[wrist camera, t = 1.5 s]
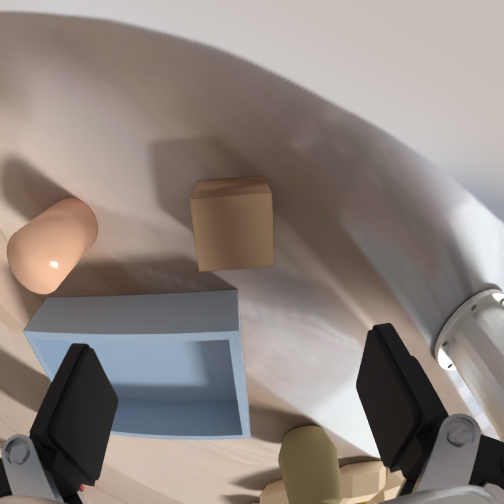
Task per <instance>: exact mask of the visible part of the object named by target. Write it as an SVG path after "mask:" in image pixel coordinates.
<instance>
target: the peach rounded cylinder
mask: <svg viewBox="0 0 504 504" xmlns="http://www.w3.org/2000/svg"><path fill="white" fill-rule="evenodd" d="M97 235H98V224H97V220H96V217H95V215H94V213H93V211H92V210H91V209H90V208H89V206H88V205H87V204H85V203H84V202H82V201H81V200H78V199H75V198H65V199H62V200H60V201H59V202H57V203H56V204H54V205H53V206H51V207H50V208H49V209H47V210H46V211H44V212H43V213H41V214H40V215H39V216H37V217H36V218H34V219H33V220H32V221H30V222H29V223H27V224H26V225H25V226H23V227H22V228H21V229H19V230H18V231H17V232H15V233H14V234H13V235H12V236H11V238H10V240H9V242H8V245H7V258H8V262H9V266H10V268H11V270H12V272H13V274H14V276H15V277H16V278H17V280H18V281H19V282H20V283H21V284H22V285H23V286H24V287H26V288H27V289H29V290H30V291H32V292H35V293H38V294H49V293H51V292H53V291H55V290H56V289H57V288H58V286H59V285H60V284H61V283H62V281H63V280H64V279H65V278H66V276H67V275H68V274H69V273H70V271H71V270H72V269H73V268H74V267H75V265H76V264H77V263H78V262H79V261H80V259H81V258H82V257H83V256H84V255H85V253H86V252H87V251H88V250H89V249H90V248H91V246H92V245H93V244H94V243H95V241H96V238H97Z"/></svg>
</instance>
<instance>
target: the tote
mask: <svg viewBox="0 0 504 504" xmlns="http://www.w3.org/2000/svg"><path fill="white" fill-rule="evenodd" d="M23 332H24V334H25V336H26V338H27V340H28V342H29V344H30V346H31V348H32V350H33V351H34V353H35V355H36V357H37V359H38V360H39V362H40V364H41V366H42V367H43V369H44V371H45V372H46V374H47V376H48V377H49V379H50V381H51V382H52V381H53V379H54V377H55V375H56V373H57V371H58V369H59V367H60V365H61V363H62V361H63V359H64V357H65V355H66V353H67V351H68V349H69V347H70V346H71V344H73V343H86V344H88V345H89V346H90V348H93V349H94V351H95V353H96V355H97V357H98V359H99V361H100V363H101V365H102V367H103V369H104V371H105V373H106V375H107V377H108V379H109V381H110V383H111V385H112V387H113V389H114V391H115V393H116V395H117V397H118V407H117V410H116V414H115V417H114V421H113V425H112V428H111V432H110V434H112V435H121V436H131V437H143V438H158V439H183V440H218V439H244V438H251V433H250V417H249V401H248V390H247V381H246V371H245V361H244V351H243V341H242V330H241V320H240V309H239V298H238V289H234V290H219V291H202V292H185V293H166V294H144V295H120V296H88V297H47V299H46V300H45V301H44V303H43V304H42V305H41V307H40V308H39V309H38V311H37V312H36V313H35V315H34V316H33V317H32V319H31V320H30V322H29V323H28V324H27V326H26V327H25V329H24V330H23Z"/></svg>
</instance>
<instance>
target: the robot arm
mask: <svg viewBox="0 0 504 504" xmlns="http://www.w3.org/2000/svg"><path fill="white" fill-rule="evenodd" d="M435 358H436V360H437V362H438V364H439V365H440V366H441V367H442V368H443V369H445V370H457V371H458V372H459V374H460V375H461V377H462V379H463V380H464V382H465V383H466V385H467V386H468V388H469V390H470V391H471V393H472V394H473V396H474V398H475V399H476V401H477V402H478V404H479V406H480V407H481V409H482V411H483V412H484V414H485V416H486V418H487V419H488V421H489V423H490V425H491V426H492V428H493V430H494V432H495V433H496V435H497V437H498V439H499V440H496V439H493V438H490V437H487V436H484V435H481V431H480V427H479V425H478V423H477V422H476V420H474V419H473V418H472V417H471V416H468V415H466V414H460V413H458V414H453V415H451V416H449V415H448V413H447V411H446V409H445V408H444V406H443V404H442V402H441V400H440V398H439V397H438V395H437V393H436V391H435V389H434V388H433V386H432V384H431V382H430V381H429V379H428V377H427V375H426V374H425V372H424V370H423V369H422V367H421V365H420V363H419V362H418V360H417V359H416V358H415V357H414V356H411V355H410V353H409V352H408V350H407V348H406V347H405V345H404V343H403V342H402V340H401V338H400V337H399V335H398V333H397V332H396V330H395V329H394V327H393V325H392V324H391V323H385V324H379V325H374V326H373V328H372V330H369V331H368V334H367V339H366V343H365V348H364V352H363V357H362V361H361V365H360V369H359V373H358V377H357V381H356V388H357V392H358V395H359V398H360V400H361V403H362V406H363V409H364V411H365V414H366V417H367V420H368V422H369V425H370V428H371V431H372V434H373V437H374V439H375V442H376V445H377V448H378V451H379V454H380V457H381V460H382V463H383V465H384V466H385V467H389V469H390V472H391V473H393V472H396V471H399V470H401V472H402V474H403V477H404V480H403V483H402V485H401V487H400V489H399V491H398V493H397V495H396V497H395V498H393V499H390V500H387V501H383V502H379V503H376V504H504V293H503V292H502V291H500V290H498V289H489V290H485V291H482V292H480V293H478V294H476V295H474V296H473V297H471V298H470V299H469V300H467V301H466V302H465V303H463V304H462V305H461V306H460V307H459V308H458V309H457V310H456V311H455V312H454V314H453V315H452V316H451V317H450V318H449V320H448V321H447V323H446V324H445V325H444V327H443V329H442V331H441V332H440V334H439V337H438V339H437V342H436V346H435ZM117 407H118V397H117V395H116V393H115V391H114V389H113V387H112V385H111V383H110V381H109V379H108V377H107V375H106V373H105V371H104V369H103V367H102V365H101V363H100V361H99V359H98V357H97V355H96V353H95V351H94V349H93V348H90V346H89V345H88V344H86V343H73V344H71V346H70V347H69V349H68V351H67V353H66V355H65V357H64V359H63V361H62V363H61V365H60V367H59V369H58V371H57V373H56V375H55V377H54V379H53V381H52V383H51V385H50V387H49V389H48V391H47V394H46V396H45V398H44V400H43V402H42V405H41V407H40V409H39V411H38V414H37V416H36V418H35V420H34V423H33V425H32V428H31V430H30V436H29V437H28V436H25V435H22V434H17V435H14V436H12V437H10V438H9V439H8V440H7V441H6V442H5V443H4V445H3V447H2V452H1V454H2V458H0V504H87V502H86V500H85V498H84V497H83V495H82V493H81V491H80V487H81V484H85V485H89V486H94V484H95V480H98V479H99V477H100V473H101V469H102V464H103V460H104V456H105V452H106V448H107V444H108V440H109V436H110V432H111V428H112V425H113V421H114V417H115V414H116V410H117Z"/></svg>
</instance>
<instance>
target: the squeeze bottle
mask: <svg viewBox="0 0 504 504" xmlns="http://www.w3.org/2000/svg"><path fill="white" fill-rule="evenodd" d="M278 462H279V466H280V470H281V474H282V478H283V482H284V486H285V490H286V494H287V497H288V501H289V504H340V502H341V501H342V500H343V498H342V489H341V480H340V471H339V463H338V455H337V448H336V447H335V445H334V444H333V442H332V441H331V440H330V438H329V437H328V436H327V434H326V433H325V431H324V430H323V429H322V428H321V427H318V426H311V425H309V426H301V427H298V428H295V429H292V430H291V431H289V432H287V433H286V434H285V436H284V437H283V441H282V445H281V449H280V453H279V458H278Z"/></svg>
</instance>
